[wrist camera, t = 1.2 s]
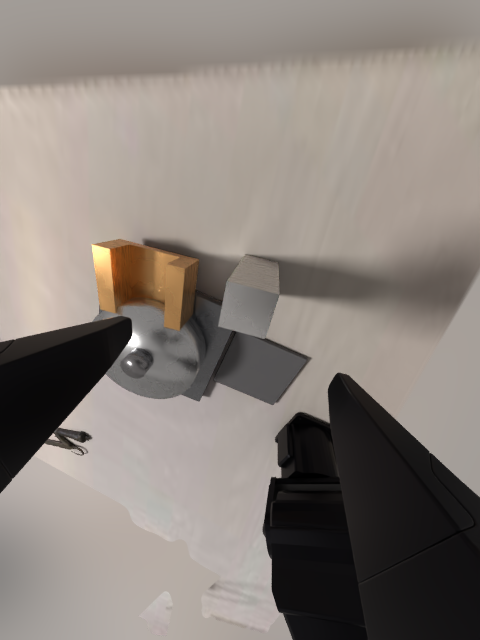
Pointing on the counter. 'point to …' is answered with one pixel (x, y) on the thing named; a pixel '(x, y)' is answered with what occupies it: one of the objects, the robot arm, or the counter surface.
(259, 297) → the gray rectangular block
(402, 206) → the counter surface
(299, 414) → the robot arm
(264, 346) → the mat
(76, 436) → the hacksaw
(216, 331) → the base plate
